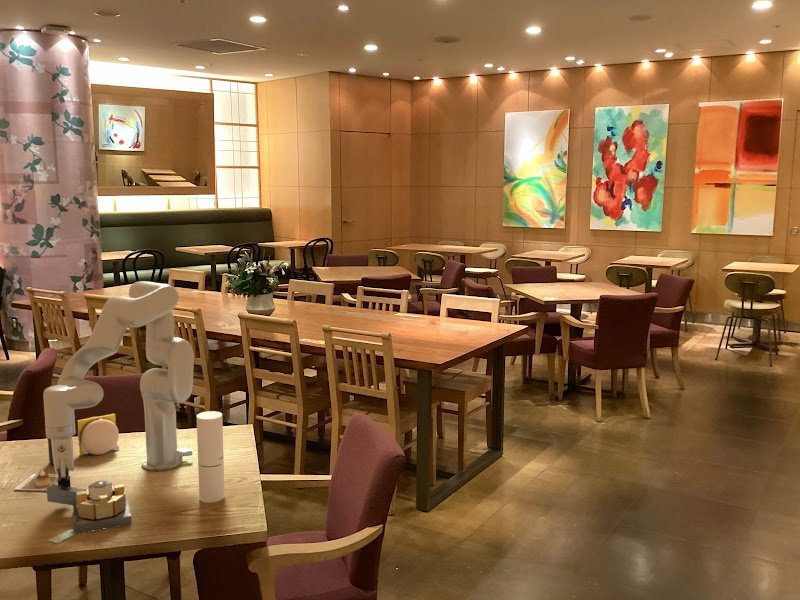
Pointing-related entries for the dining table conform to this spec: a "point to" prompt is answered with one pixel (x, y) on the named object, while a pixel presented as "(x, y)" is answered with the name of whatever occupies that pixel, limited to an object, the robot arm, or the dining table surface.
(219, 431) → the cylindrical container
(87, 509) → the ring nut
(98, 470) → the dining table surface
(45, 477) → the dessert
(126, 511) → the housing
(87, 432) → the hamburger
